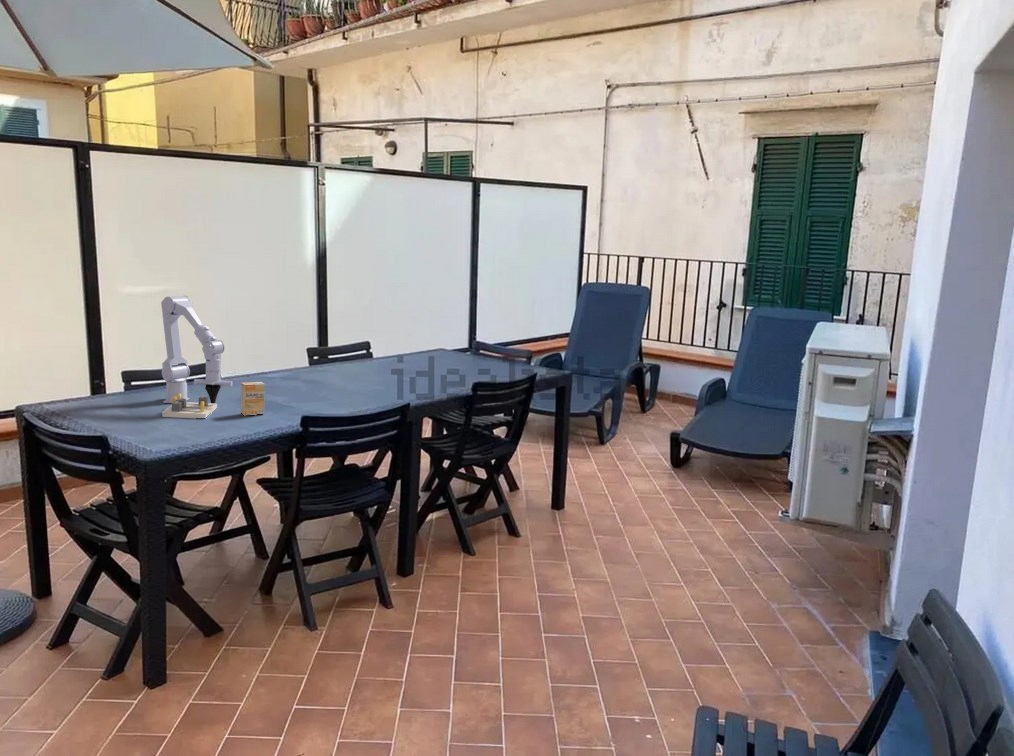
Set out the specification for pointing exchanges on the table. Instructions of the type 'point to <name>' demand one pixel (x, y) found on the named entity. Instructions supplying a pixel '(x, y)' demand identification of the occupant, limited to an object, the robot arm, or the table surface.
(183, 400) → the middle knob
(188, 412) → the switch panel
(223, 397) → the table surface
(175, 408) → the front knob
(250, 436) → the table surface
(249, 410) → the supplement box
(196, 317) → the robot arm
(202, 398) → the rear knob
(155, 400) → the table surface
